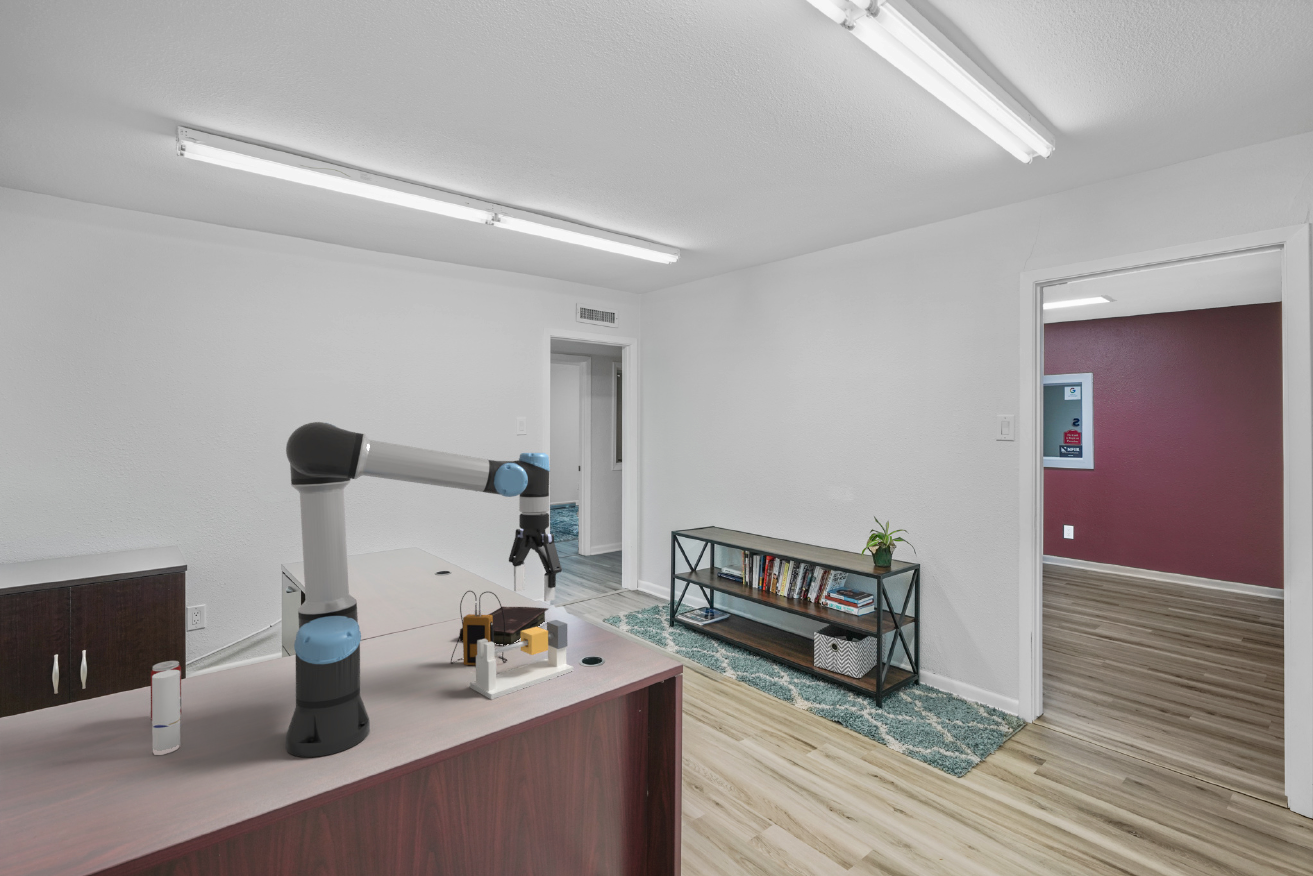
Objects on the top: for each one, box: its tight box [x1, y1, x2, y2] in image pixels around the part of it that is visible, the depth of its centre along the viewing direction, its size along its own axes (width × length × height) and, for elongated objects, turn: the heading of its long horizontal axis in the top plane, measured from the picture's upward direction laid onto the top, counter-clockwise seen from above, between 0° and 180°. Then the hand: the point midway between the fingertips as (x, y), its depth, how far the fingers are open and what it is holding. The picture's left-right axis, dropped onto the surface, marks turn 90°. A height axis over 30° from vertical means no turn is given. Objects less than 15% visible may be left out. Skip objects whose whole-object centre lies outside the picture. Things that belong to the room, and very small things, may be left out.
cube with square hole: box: [520, 627, 548, 656], centre depth 159 cm, size 5×5×5 cm
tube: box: [151, 670, 181, 751], centre depth 122 cm, size 4×4×15 cm
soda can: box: [150, 660, 182, 719], centre depth 135 cm, size 5×5×12 cm
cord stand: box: [469, 619, 574, 700], centre depth 157 cm, size 24×10×12 cm, turn 135°
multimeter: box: [450, 590, 508, 666], centre depth 171 cm, size 15×10×20 cm
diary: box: [459, 606, 549, 645], centre depth 196 cm, size 19×25×5 cm
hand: (534, 595), depth 159 cm, fingers open, 13 cm apart
